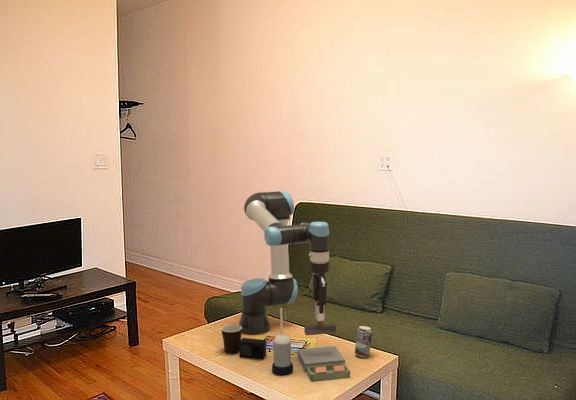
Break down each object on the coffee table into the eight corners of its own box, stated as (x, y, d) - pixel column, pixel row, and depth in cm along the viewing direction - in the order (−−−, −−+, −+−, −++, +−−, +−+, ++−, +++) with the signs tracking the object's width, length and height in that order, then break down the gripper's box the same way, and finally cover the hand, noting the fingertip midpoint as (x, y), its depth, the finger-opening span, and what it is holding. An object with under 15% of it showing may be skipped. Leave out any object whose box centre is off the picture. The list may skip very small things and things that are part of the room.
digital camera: (238, 358, 209) (237, 342, 208) (242, 353, 214) (242, 337, 214) (262, 361, 207) (262, 344, 206) (266, 355, 212) (266, 339, 211)
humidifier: (275, 365, 202) (274, 304, 199) (295, 368, 200) (295, 306, 197) (268, 374, 195) (267, 311, 192) (289, 377, 192) (288, 313, 189)
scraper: (304, 332, 204) (304, 301, 202) (333, 330, 206) (333, 298, 205) (306, 335, 201) (305, 303, 200) (335, 332, 203) (335, 301, 202)
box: (306, 372, 195) (306, 366, 195) (344, 369, 198) (344, 362, 198) (311, 381, 189) (311, 374, 188) (350, 377, 191) (349, 370, 191)
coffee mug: (239, 356, 212) (238, 332, 211) (219, 354, 213) (218, 331, 212) (246, 345, 223) (246, 323, 222) (228, 343, 225) (227, 321, 224)
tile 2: (333, 365, 191) (334, 371, 190) (344, 364, 192) (344, 370, 191) (331, 367, 195) (332, 373, 194) (341, 366, 195) (342, 372, 194)
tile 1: (315, 367, 189) (316, 372, 188) (325, 366, 190) (326, 371, 189) (313, 370, 193) (314, 375, 192) (323, 369, 194) (324, 374, 192)
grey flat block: (297, 357, 209) (297, 349, 209) (334, 353, 212) (334, 345, 212) (305, 372, 196) (305, 363, 195) (345, 368, 199) (345, 359, 198)
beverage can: (351, 356, 210) (351, 328, 209) (362, 350, 216) (362, 323, 214) (364, 360, 206) (364, 331, 205) (374, 354, 211) (374, 326, 210)
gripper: (305, 257, 207) (306, 314, 210) (314, 266, 192) (315, 326, 195) (323, 256, 208) (324, 312, 211) (334, 265, 194) (334, 325, 196)
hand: (319, 319), depth 203 cm, fingers closed on scraper, 2 cm apart
